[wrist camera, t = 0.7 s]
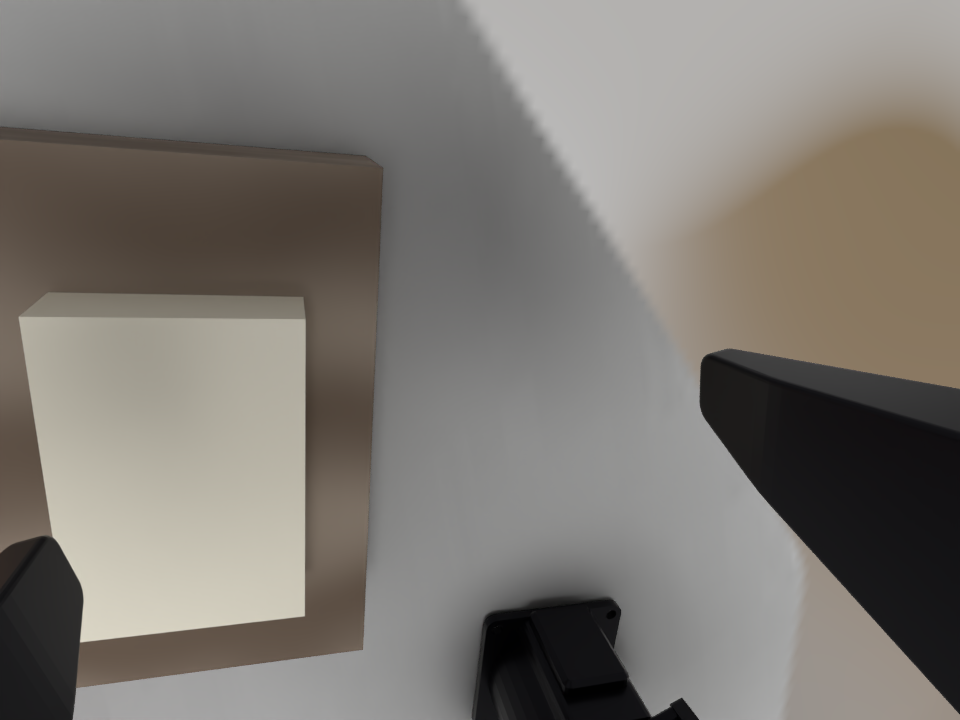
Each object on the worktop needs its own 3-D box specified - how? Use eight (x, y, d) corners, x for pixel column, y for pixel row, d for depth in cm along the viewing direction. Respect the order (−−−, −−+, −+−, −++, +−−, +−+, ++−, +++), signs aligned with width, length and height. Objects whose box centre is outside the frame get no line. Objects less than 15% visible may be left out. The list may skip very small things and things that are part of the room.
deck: (351, 574, 26) (363, 649, 23) (0, 609, 23) (-53, 704, 19) (365, 156, 21) (382, 168, 17) (-96, 118, 17) (-196, 124, 14)
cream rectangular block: (302, 571, 21) (304, 616, 19) (88, 592, 19) (69, 643, 17) (303, 296, 18) (305, 319, 16) (48, 292, 16) (18, 316, 14)
